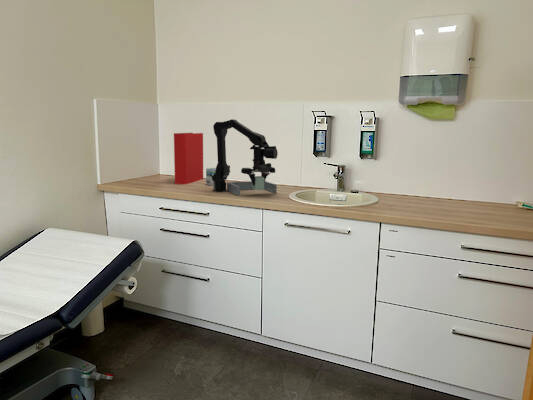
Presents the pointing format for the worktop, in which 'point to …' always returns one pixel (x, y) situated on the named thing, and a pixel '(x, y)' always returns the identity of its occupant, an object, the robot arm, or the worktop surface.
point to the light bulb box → (210, 176)
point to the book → (188, 157)
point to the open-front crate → (248, 187)
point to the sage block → (258, 183)
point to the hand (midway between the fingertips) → (258, 185)
